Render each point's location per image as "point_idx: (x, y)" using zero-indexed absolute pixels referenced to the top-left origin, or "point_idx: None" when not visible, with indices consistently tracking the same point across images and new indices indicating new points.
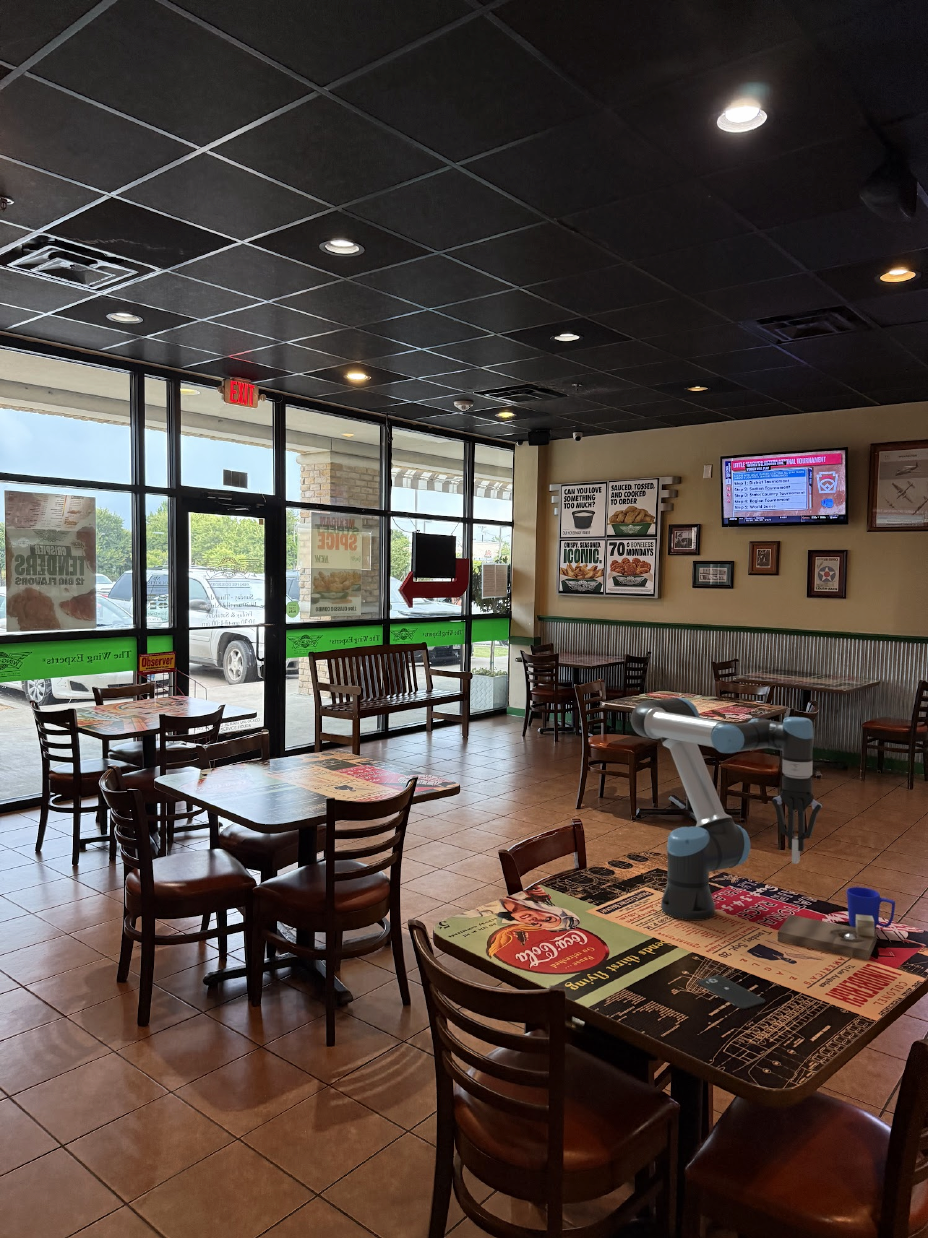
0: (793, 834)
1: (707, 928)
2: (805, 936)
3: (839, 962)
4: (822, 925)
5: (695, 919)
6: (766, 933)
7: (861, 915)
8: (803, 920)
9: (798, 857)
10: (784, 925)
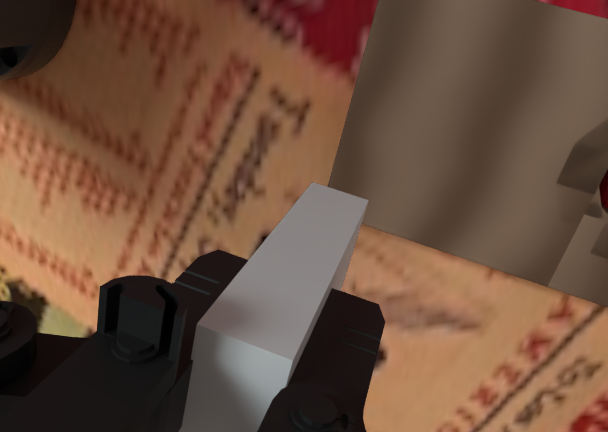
0: (156, 424)
1: (86, 134)
2: (434, 237)
3: (547, 343)
4: (545, 79)
5: (28, 73)
6: (289, 125)
7: None
8: (452, 32)
9: (339, 281)
10: (352, 131)
